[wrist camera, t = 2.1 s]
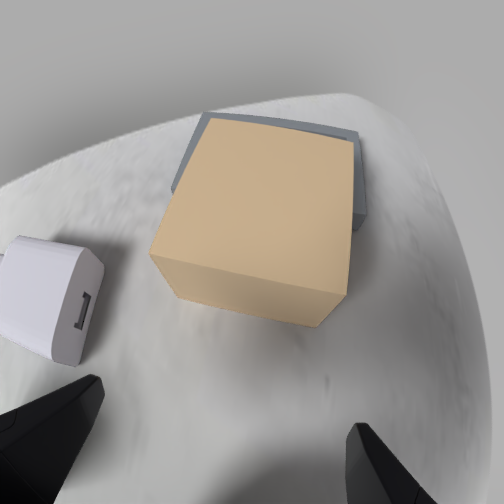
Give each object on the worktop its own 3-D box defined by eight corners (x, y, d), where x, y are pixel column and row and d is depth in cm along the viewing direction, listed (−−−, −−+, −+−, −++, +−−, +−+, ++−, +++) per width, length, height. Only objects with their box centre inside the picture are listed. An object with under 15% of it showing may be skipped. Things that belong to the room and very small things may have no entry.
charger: (8, 246, 25) (107, 268, 24) (-17, 321, 21) (80, 368, 20) (-16, 225, 21) (83, 243, 20) (-46, 307, 17) (48, 360, 16)
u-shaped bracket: (357, 230, 26) (366, 214, 24) (176, 204, 27) (170, 188, 25) (352, 148, 31) (358, 131, 29) (205, 128, 32) (203, 111, 30)
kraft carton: (315, 328, 22) (346, 295, 15) (178, 298, 23) (148, 253, 16) (331, 203, 28) (353, 142, 20) (218, 182, 29) (210, 117, 21)
